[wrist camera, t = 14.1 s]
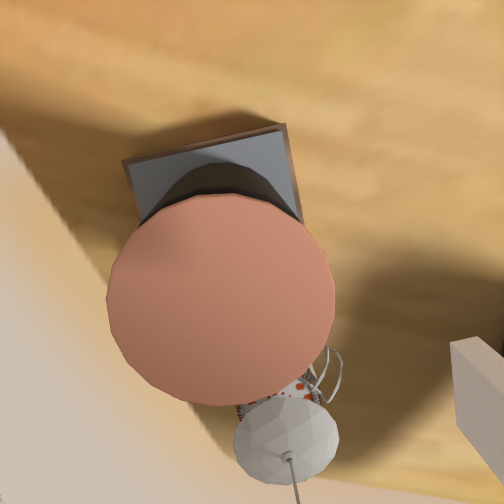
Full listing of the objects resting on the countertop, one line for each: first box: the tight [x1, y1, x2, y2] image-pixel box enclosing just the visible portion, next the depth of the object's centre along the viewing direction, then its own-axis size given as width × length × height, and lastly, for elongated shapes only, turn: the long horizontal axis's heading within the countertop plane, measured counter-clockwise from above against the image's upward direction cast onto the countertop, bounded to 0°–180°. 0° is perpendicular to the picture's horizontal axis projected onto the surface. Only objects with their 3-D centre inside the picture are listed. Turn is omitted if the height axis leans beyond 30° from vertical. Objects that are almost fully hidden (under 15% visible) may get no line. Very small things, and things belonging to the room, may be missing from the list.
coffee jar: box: [106, 162, 335, 406], centre depth 28 cm, size 11×11×18 cm
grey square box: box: [122, 123, 304, 225], centre depth 38 cm, size 14×14×4 cm
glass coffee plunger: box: [233, 343, 343, 504], centre depth 33 cm, size 10×12×25 cm
